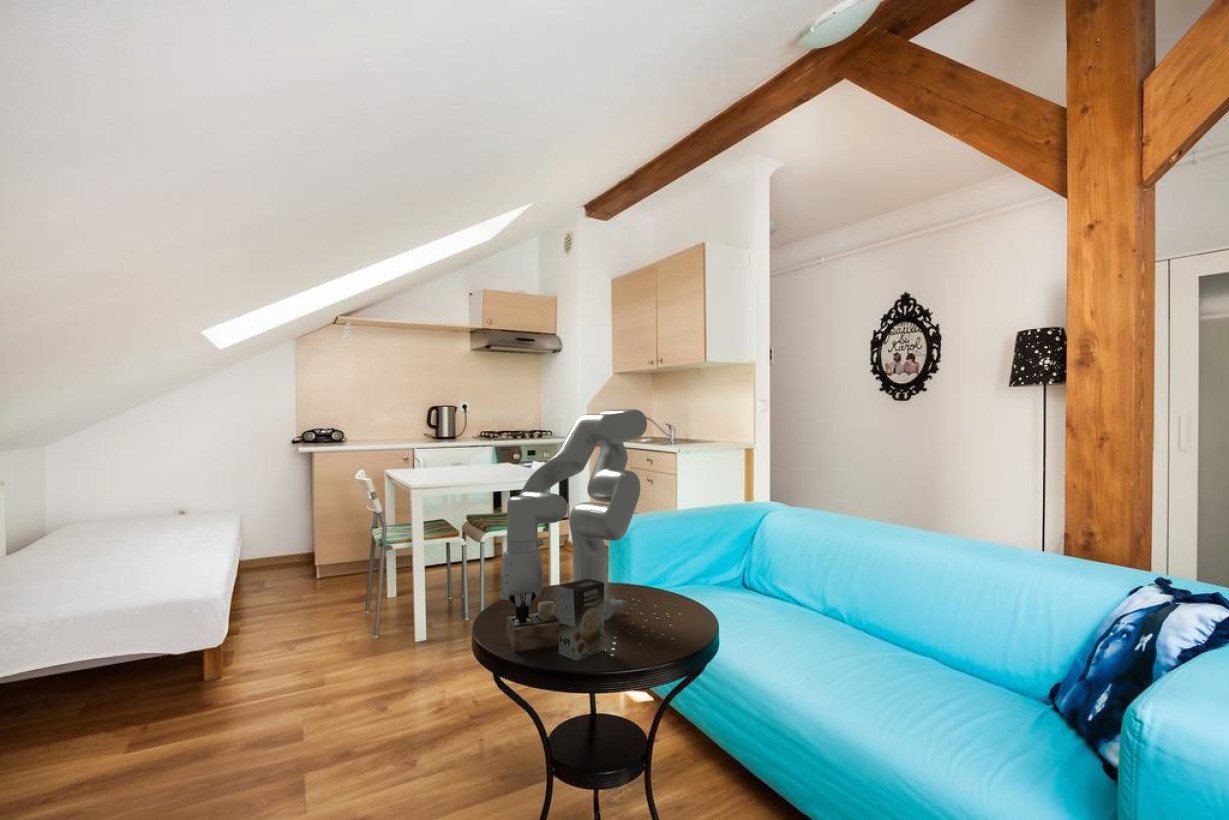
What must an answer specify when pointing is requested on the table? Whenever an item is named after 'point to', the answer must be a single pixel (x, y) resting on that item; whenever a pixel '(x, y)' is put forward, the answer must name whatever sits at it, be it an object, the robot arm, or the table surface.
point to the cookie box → (581, 618)
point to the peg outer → (522, 622)
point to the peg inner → (546, 611)
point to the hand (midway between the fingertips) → (522, 621)
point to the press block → (532, 633)
